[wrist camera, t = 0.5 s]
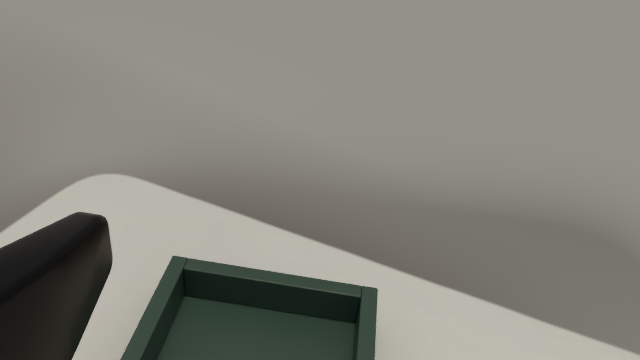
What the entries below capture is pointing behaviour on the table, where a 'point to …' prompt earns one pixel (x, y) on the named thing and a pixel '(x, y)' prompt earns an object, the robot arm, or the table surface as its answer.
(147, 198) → the table surface
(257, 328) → the green tray
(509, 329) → the table surface
